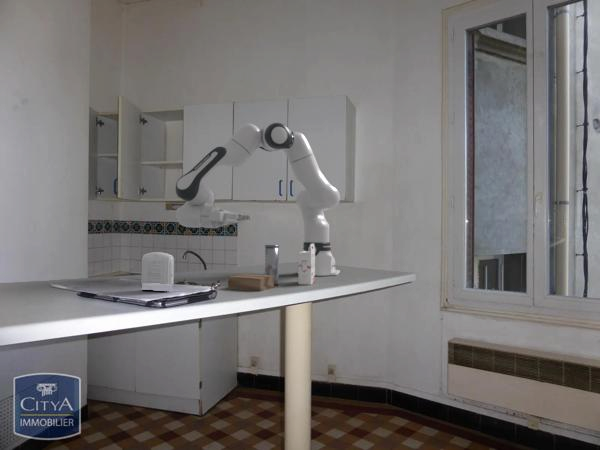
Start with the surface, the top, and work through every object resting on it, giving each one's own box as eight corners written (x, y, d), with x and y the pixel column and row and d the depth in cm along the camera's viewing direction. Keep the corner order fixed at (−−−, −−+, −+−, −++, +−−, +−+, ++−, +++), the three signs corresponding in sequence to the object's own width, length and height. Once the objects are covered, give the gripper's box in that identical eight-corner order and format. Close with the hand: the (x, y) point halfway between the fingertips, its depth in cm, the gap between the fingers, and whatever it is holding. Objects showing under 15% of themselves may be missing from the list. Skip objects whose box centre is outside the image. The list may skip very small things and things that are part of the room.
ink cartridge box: (302, 281, 164) (302, 243, 164) (315, 282, 163) (315, 243, 163) (297, 284, 156) (298, 243, 156) (311, 285, 155) (311, 244, 155)
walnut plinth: (243, 285, 152) (243, 273, 152) (273, 287, 148) (273, 275, 148) (228, 288, 143) (228, 276, 143) (260, 291, 138) (260, 278, 138)
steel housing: (268, 281, 163) (268, 244, 163) (280, 282, 161) (281, 245, 161) (262, 283, 158) (262, 245, 158) (274, 284, 156) (275, 245, 156)
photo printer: (175, 290, 137) (176, 252, 137) (168, 292, 133) (169, 252, 133) (146, 289, 139) (146, 251, 139) (138, 291, 135) (139, 252, 135)
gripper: (197, 207, 160) (229, 207, 155) (226, 210, 179) (256, 210, 174) (197, 224, 160) (229, 225, 155) (226, 225, 179) (256, 226, 174)
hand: (244, 217), depth 164 cm, fingers open, 8 cm apart
